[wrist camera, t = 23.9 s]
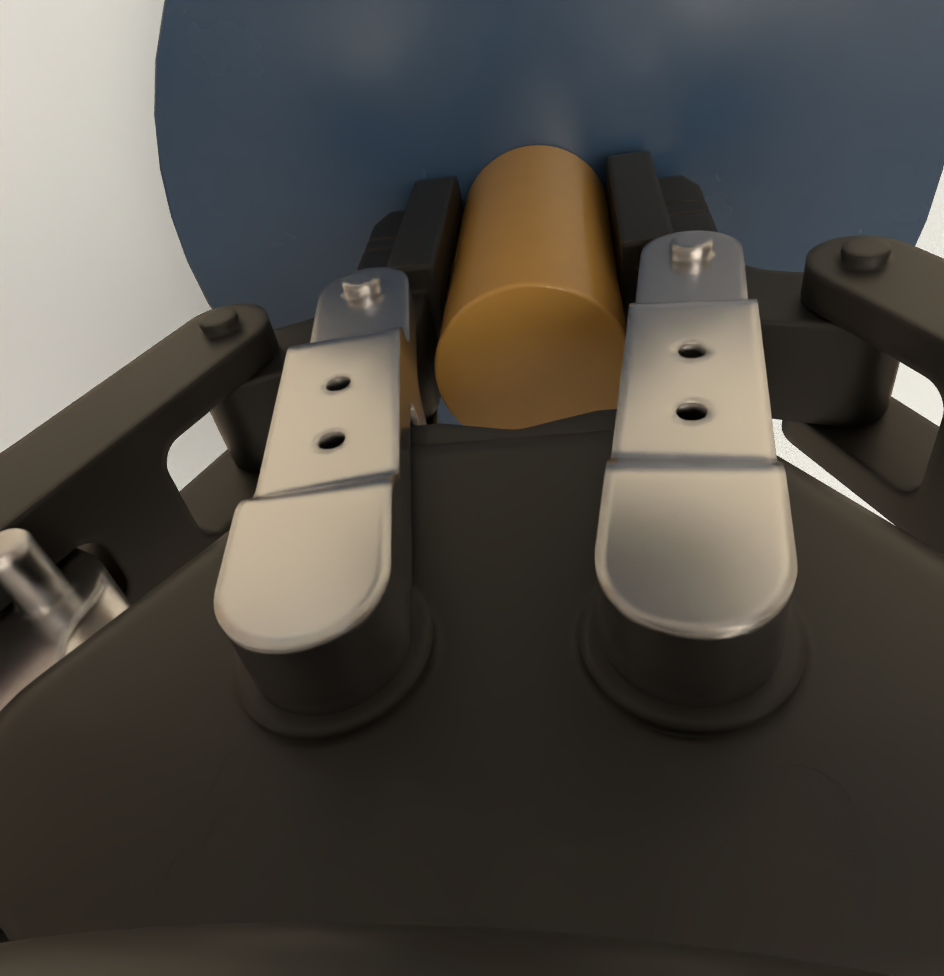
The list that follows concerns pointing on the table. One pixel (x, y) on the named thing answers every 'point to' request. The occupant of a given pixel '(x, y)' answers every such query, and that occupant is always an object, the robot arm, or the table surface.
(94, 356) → the table surface
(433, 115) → the tin lid
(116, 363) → the table surface
